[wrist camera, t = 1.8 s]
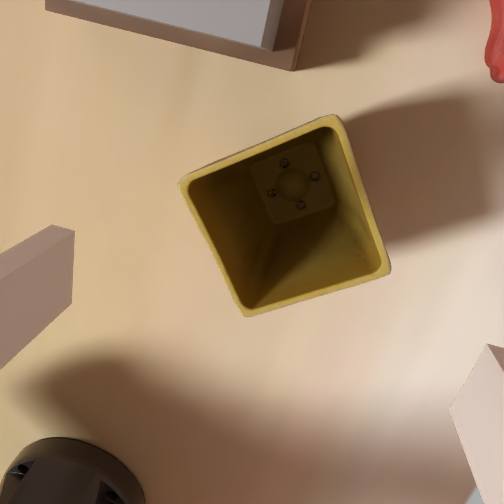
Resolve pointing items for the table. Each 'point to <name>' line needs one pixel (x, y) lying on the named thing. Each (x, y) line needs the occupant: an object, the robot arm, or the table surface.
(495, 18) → the stacking bear
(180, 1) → the grey top slab
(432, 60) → the table surface
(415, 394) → the table surface
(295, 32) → the walnut base slab
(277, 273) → the flower pot
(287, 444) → the table surface
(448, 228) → the table surface
